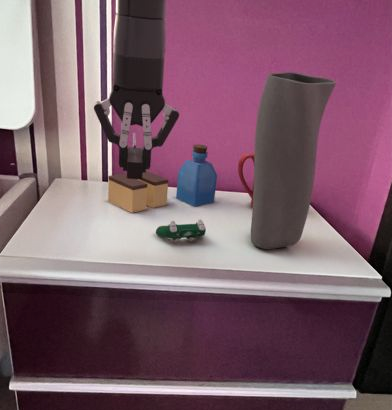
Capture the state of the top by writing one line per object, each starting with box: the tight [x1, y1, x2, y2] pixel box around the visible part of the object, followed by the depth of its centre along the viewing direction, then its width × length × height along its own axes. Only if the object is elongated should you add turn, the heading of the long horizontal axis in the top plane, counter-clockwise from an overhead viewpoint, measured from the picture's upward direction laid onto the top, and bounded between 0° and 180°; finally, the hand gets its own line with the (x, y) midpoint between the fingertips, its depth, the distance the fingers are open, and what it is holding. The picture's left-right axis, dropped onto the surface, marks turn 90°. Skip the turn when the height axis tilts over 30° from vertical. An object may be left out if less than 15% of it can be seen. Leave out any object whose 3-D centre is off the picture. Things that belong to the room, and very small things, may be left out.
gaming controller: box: [155, 219, 207, 243], centre depth 107 cm, size 9×4×6 cm
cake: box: [107, 170, 169, 214], centre depth 121 cm, size 10×8×6 cm
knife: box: [126, 132, 143, 180], centre depth 95 cm, size 18×2×3 cm, turn 6°
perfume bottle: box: [175, 143, 218, 207], centre depth 125 cm, size 6×6×12 cm
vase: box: [250, 71, 337, 250], centre depth 103 cm, size 12×12×30 cm
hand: (134, 170), depth 92 cm, fingers closed on knife, 2 cm apart
